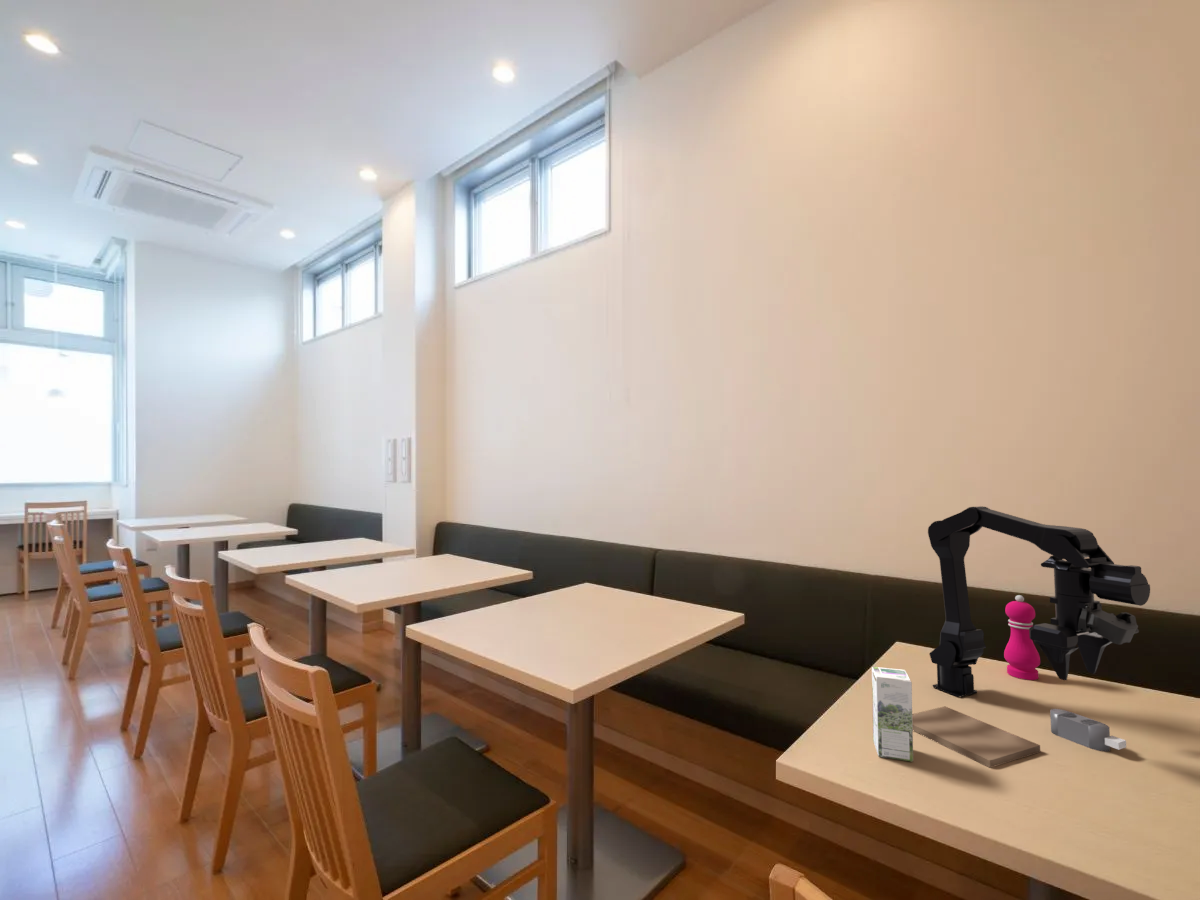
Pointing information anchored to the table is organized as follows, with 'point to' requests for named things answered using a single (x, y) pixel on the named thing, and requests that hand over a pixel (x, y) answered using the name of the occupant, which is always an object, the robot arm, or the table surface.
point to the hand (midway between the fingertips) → (1077, 676)
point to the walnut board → (972, 736)
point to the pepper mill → (1021, 641)
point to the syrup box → (892, 713)
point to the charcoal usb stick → (1084, 731)
